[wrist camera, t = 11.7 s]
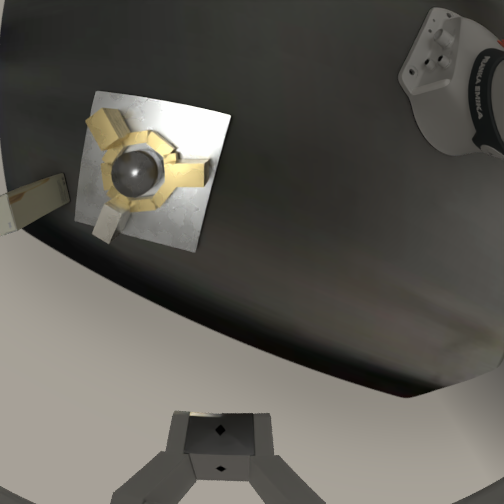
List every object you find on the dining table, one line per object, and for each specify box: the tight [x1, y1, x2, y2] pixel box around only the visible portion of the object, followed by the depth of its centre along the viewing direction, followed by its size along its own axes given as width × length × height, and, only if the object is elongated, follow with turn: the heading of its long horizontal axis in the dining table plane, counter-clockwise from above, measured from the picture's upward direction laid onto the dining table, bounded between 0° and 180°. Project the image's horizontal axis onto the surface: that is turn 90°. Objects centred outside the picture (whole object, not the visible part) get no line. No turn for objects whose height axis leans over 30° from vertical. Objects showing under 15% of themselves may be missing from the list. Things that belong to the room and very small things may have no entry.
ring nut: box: [85, 108, 209, 244], centre depth 32 cm, size 14×15×4 cm
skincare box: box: [0, 173, 70, 236], centre depth 31 cm, size 6×4×12 cm
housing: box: [75, 91, 231, 252], centre depth 33 cm, size 17×17×5 cm
